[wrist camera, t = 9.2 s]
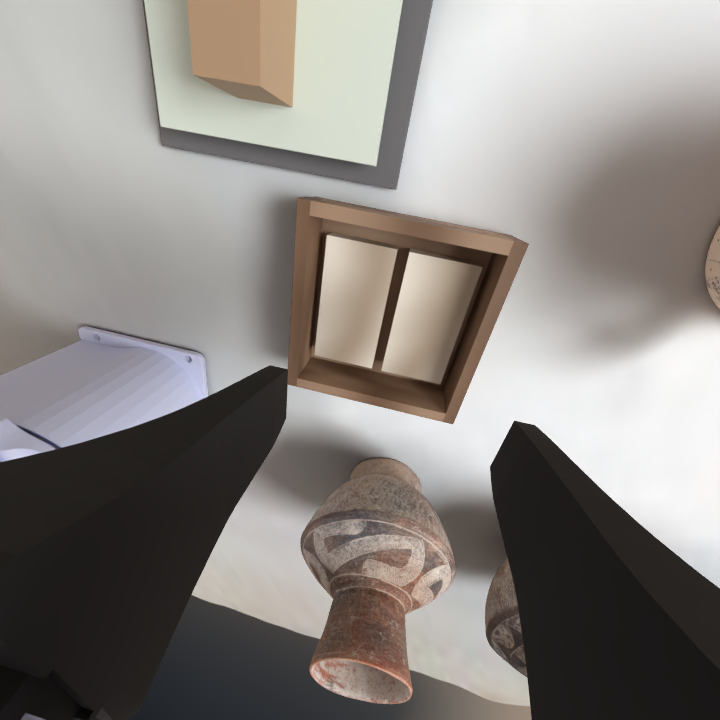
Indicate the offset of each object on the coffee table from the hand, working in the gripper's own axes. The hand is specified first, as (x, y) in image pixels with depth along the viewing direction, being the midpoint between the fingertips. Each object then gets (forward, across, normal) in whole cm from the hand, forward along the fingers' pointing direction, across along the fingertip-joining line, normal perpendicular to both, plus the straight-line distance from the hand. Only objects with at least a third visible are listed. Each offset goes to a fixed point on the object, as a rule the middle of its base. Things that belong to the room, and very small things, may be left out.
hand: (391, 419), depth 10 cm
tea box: (+10, +1, 0) cm, 10 cm away
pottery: (+10, -9, +16) cm, 21 cm away
